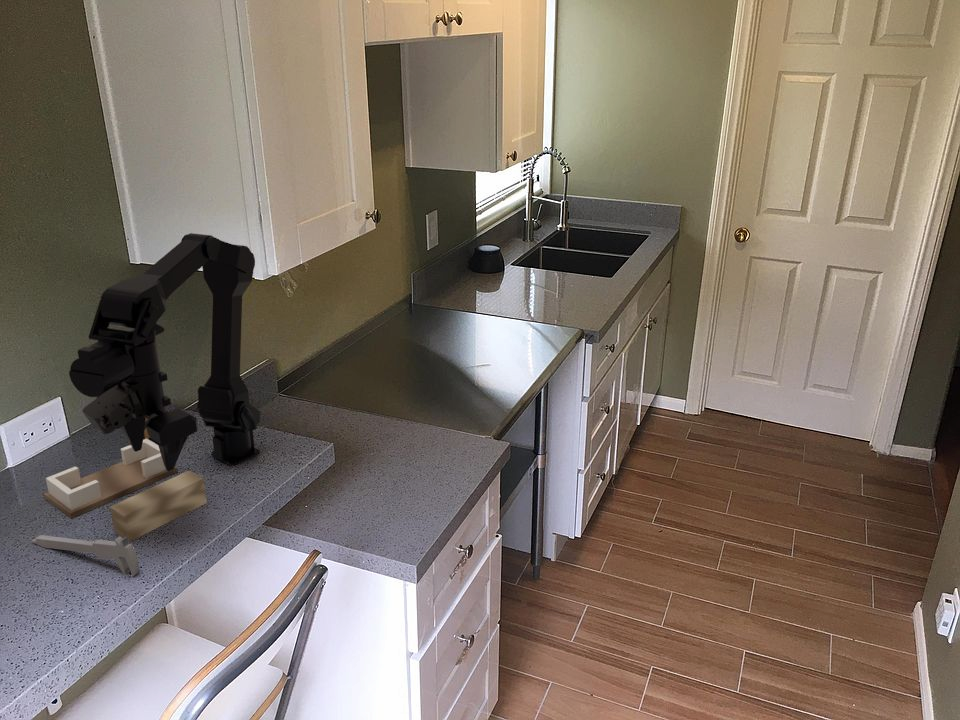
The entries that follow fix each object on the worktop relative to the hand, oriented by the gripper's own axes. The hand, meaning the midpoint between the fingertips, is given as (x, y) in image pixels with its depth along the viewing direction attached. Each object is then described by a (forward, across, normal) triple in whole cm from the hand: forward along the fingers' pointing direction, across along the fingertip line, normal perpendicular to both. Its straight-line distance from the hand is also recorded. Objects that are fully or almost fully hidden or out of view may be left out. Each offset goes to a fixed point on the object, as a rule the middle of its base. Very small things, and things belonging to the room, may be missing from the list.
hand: (153, 460), depth 123 cm
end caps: (+11, -15, 0) cm, 18 cm away
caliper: (+11, +1, -13) cm, 17 cm away
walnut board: (+11, -15, 0) cm, 18 cm away
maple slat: (+11, 0, 0) cm, 11 cm away
